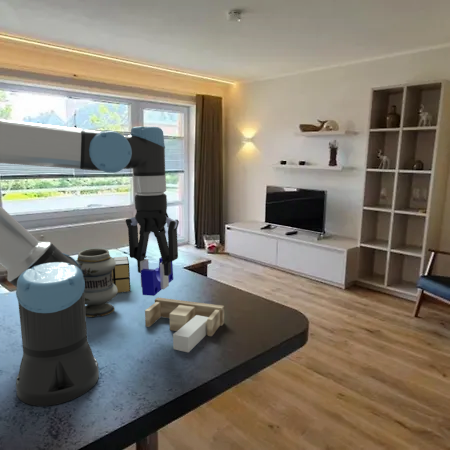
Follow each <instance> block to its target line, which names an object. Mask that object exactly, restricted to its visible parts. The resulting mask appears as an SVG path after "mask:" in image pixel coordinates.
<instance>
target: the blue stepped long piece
mask: <svg viewBox="0 0 450 450" xmlns="http://www.w3.org/2000/svg"><path fill="white" fill-rule="evenodd" d="M158 261H159V263H158V267H156V268H153V269H152V268H149V269H143V270H141V273H140V282H141V281H142V287H141V290H142V291H141V292H142V296H149V297H150V296H151V297H152V296H153V297H155V296H156V295H157V294H158V293H159V292H160V291H162V290H163V289H161V281H160V263H161V262H163V261H162V258H161V257H159V260H158ZM173 266H174V265H173V261H172V262H171V274H170V275H168V279H169V284H170V283H171V282H172V281H174V267H173Z"/></svg>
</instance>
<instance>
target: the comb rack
mask: <svg viewBox="0 0 450 450" xmlns="http://www.w3.org/2000/svg"><path fill="white" fill-rule="evenodd" d="M196 315H199V316H205V317H209V318H208V319H207V335H206V336H208V337H213V335H214V334H215V333H216V331H217V330H218V329H219V328H220V326H222V327H223V325H224V324H225V305H223V304H213V303H212V304H211V303H206V302H205V303H204V302H197V301H195V302H194V301H187V300H179V299H172V298H166V297H156V298H155V299H154V303H153V304H151V305H150V306H149V307H148V308H146V309H145V310H144V318H145V319H144V323H145V327H147V328H150V327H151V326H153V324H155V323H156V322H157V321H158V320H159V319H160V318H166V319H169V330H170V331H174V332H177V331H178V330H179V329H180V328H181V327H183V326H184V325H185V324H186V323H187V322H189V321H190V320H191V319H192V318H193V317H195V316H196Z"/></svg>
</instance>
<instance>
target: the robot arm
mask: <svg viewBox="0 0 450 450" xmlns="http://www.w3.org/2000/svg"><path fill="white" fill-rule="evenodd" d="M165 149H166V145H165V137H164V131H163V129H162V128H161V127H159V126H133V127H132V128H131V129H130V134H129V135H123V134H121V133H120V132H118V131H115V130H110V129H109V130H106V129H105V130H95V129H84V128H78V127H70V126H68V127H67V126H60V125H52V124H45V123H44V124H42V123H36V122H26V121H16V120H9V119H0V164H5V165H6V164H8V165H18V166H19V165H21V166H23V165H24V166H35V167H48V168H61V169H63V168H64V169H75V170H85V171H97V172H98V171H99V172H104V173H118V172H121V171H123V169H124V170H126V169H127V170H129V169H132V171H133V172H132V175H133V192H134V193H136V194H135V195H134V207H135V208H134V209H135V210H136V213H135V216H132V217H129V218H126V219H125V223H126V226H127V230H128V252H129V257H130V258H131V259H135V260H136V262H137V272H138V273H139V274H141V270H143V269H150V268H149V267H150V265H149V258H147V249H148V244H149V238H150V234H151V233H153V235H154V237H155V238H156V242H157V246H158V249H159V253H160V256H161V257H160V258H162V261H163V262H161V263H160V281H161V289H162V290H165V289H166V288H168V287H169V286H170V285H169V284H170V283H169V279H168V275H170V274H171V262H172V263H173V262H174V261H176V260H177V259H179V252H178V251H179V250H178V249H179V248H178V246H179V245H178V227H179V224H180V221H179V220H178V219H172V218H170V217H169V215H168V212H167V210H168V199H167V194H166V193H165V192H166V191H167V178H166V152H165V151H166V150H165ZM166 224H167V225H166ZM138 225H139V226H138ZM165 226H166V227H167V235H166V229H165ZM76 260H77V259H75V258H73V257H72V256H71V255H69V254H66V253H64V252H62V251H61V250H60V249H59V248H58V247H56V246H55V245H54V244H53V243H52V242H50V241H40V240H39V239H37V238H36V236H34V235H33V234H31V232H30V231H28V230H27V229H26V228H25V227H24V226H23V225H22V224H21V223H19V221H17V220H16V219H15V218H14V217H13V216H12V215H11V214H10V213H9V212H8V211H6V210H5V209H4V208H3V207H2V206H1V205H0V265H1V266H2V267H3V268H4V269H5V270H6V271H7V282H8V283H10V284H12V285H13V286H14V287H15V288H16V290H15V296H16V298H17V302H18V313H19V322H20V333H21V344H22V351H23V352H22V353H23V354H22V358H21V361H20V365H19V371H18V374H17V377H16V381H15V389H16V395H17V397H18V399H19V400H20V401H21V402H23V403H24V404H28V405H30V406H36V407H39V406H41V407H43V406H45V407H46V406H55V405H59V404H63V403H66V402H70V401H73V400H75V399H77V398H79V397H81V396H82V395H84V394H86V393H88V392H89V391H90V390H91V389H92V388H93V387H94V386H95V385H96V383H97V382H98V379H99V376H100V371H99V363H98V361H97V359H96V358H95V355H94V354H93V351H92V348H91V346H90V343H89V340H88V328H87V317H86V310H85V306H86V304H85V295H84V289H85V282H84V278H83V273H82V269H81V268H80V266H79V264H78V263H77V261H76ZM140 284H141V288H142V281H141V280H140Z"/></svg>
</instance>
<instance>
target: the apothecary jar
mask: <svg viewBox="0 0 450 450" xmlns="http://www.w3.org/2000/svg"><path fill="white" fill-rule="evenodd" d="M113 258H114V257H112V256H111V255H110V251H109V250H108V249H106V248H89V249H88V248H87V249H84V250H81V251H79V252H78V254H77V259H75V260H76V261H77V263H78V264H79V266H80V268H81V269H82V273H83V278H84V282H85V289H84V295H85V310H86V318H96V317H105V316H106V315H109V314H111V313H113V312H115V307H114V305H113V304H111V303H109V302H111V301H112V300H113V299H115V298H116V296H117V294H118V293H117V292H118V289H117V287H116V285H115V284H113V280H112V270H113V269H114V268H115V265H116V262H115V260H114V259H113Z"/></svg>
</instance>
